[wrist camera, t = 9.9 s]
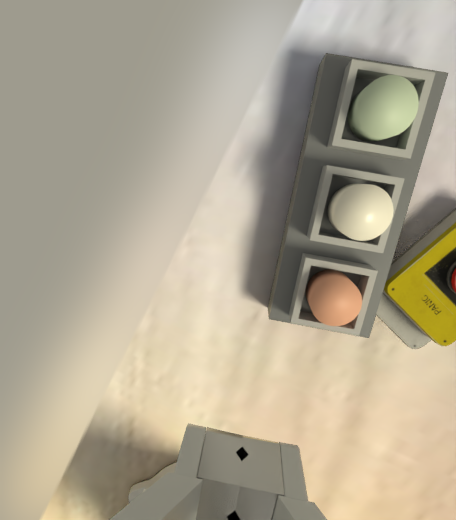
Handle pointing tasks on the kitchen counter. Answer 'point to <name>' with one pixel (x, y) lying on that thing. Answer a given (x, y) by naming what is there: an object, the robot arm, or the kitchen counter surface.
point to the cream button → (360, 211)
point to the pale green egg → (383, 108)
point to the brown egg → (333, 297)
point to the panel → (339, 175)
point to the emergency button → (423, 289)
